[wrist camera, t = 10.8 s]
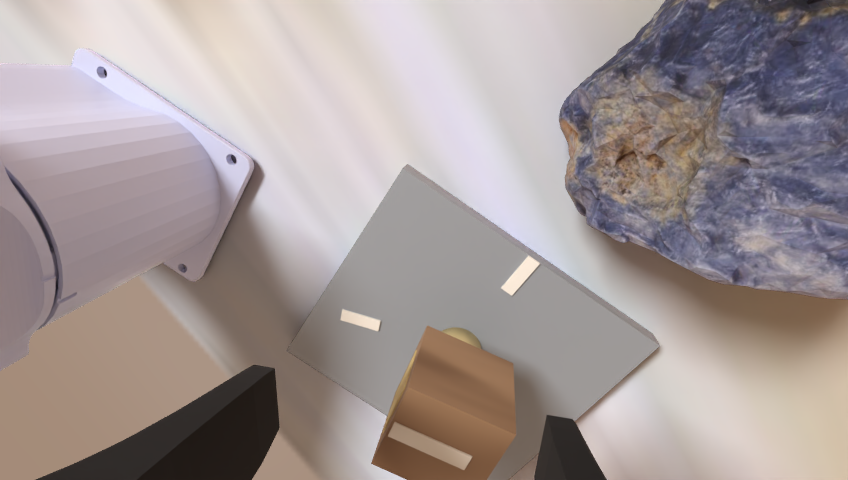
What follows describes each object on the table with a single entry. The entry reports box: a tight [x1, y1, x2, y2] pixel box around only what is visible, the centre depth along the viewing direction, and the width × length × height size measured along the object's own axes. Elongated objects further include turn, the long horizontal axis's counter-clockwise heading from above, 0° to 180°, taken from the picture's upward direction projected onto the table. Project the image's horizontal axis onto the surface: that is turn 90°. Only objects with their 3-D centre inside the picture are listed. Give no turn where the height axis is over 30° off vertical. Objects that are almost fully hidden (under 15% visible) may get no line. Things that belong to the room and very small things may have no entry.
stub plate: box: [287, 164, 660, 480], centre depth 21 cm, size 14×12×3 cm
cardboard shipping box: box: [371, 326, 516, 480], centre depth 17 cm, size 4×4×4 cm
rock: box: [559, 0, 848, 299], centre depth 14 cm, size 11×10×10 cm
